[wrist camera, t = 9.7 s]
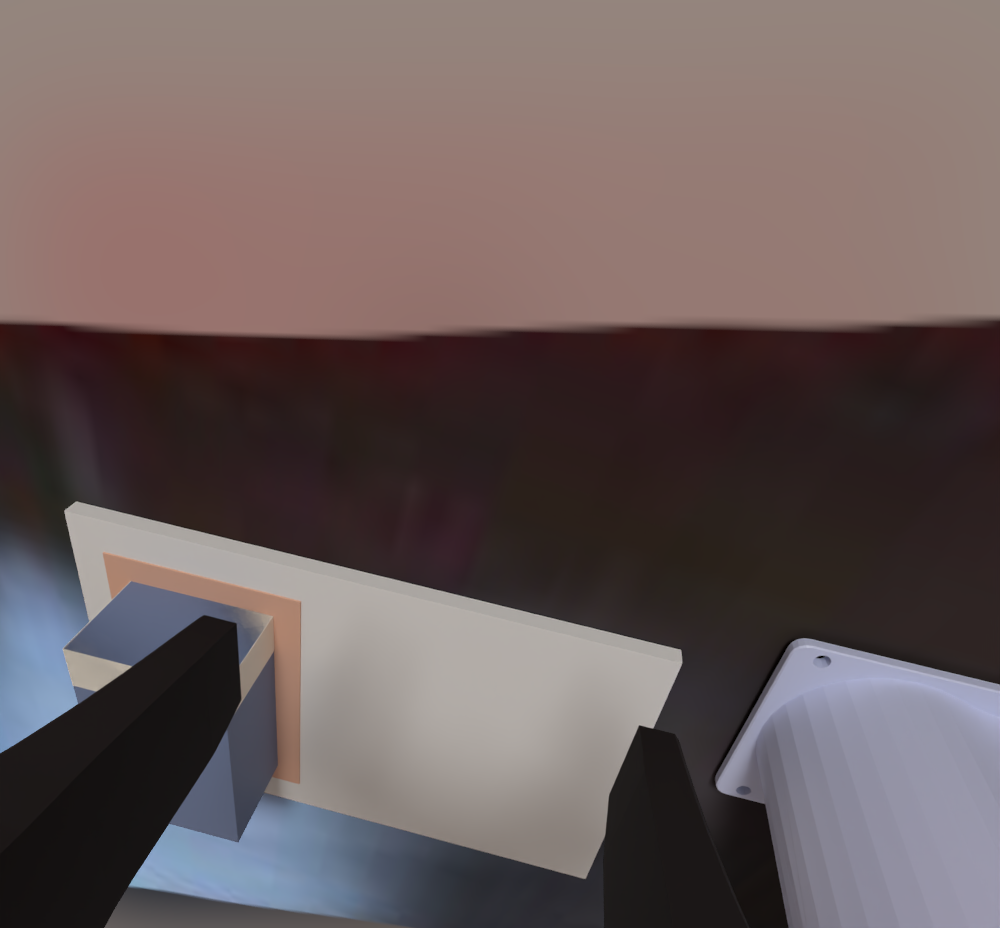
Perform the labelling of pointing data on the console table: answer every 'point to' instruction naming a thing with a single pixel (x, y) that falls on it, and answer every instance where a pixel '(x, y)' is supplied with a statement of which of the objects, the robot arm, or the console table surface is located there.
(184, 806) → the card deck
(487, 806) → the mat
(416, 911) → the console table surface
